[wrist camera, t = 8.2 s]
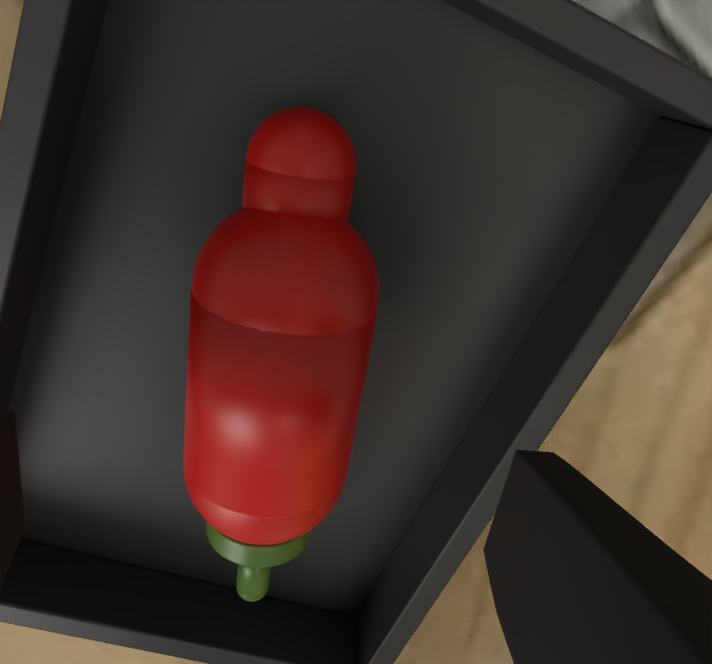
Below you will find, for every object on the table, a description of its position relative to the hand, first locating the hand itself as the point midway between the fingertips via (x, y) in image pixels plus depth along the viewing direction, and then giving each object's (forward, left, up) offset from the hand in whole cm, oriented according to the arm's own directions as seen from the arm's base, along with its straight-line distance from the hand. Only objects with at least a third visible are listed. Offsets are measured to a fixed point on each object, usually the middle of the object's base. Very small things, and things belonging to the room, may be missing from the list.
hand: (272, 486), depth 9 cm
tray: (0, 0, -5) cm, 5 cm away
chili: (0, 0, -4) cm, 4 cm away
